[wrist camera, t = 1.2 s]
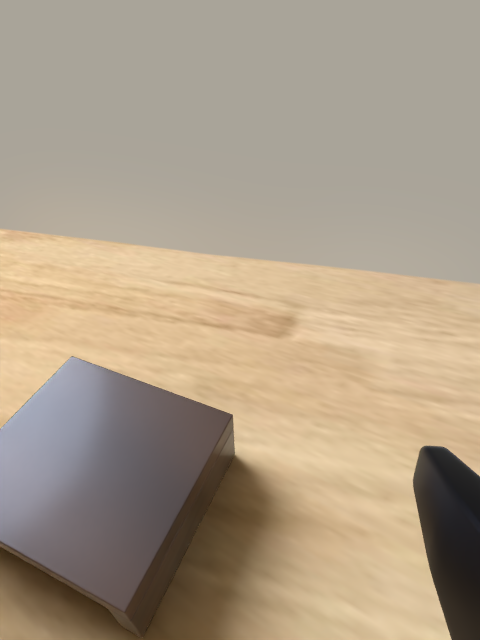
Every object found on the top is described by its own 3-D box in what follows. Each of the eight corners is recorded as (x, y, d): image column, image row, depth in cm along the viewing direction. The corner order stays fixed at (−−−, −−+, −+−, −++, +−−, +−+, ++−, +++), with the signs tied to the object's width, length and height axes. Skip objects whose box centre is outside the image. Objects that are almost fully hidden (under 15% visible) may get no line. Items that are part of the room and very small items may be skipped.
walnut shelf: (142, 638, 19) (124, 613, 17) (-34, 535, 23) (-72, 501, 20) (235, 453, 26) (233, 414, 23) (88, 395, 30) (71, 355, 27)
